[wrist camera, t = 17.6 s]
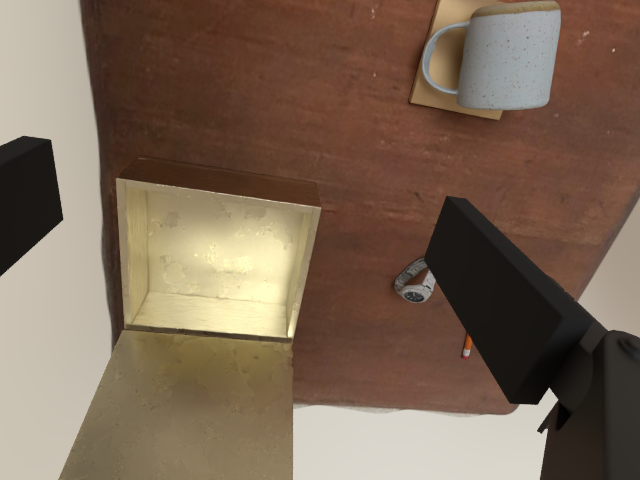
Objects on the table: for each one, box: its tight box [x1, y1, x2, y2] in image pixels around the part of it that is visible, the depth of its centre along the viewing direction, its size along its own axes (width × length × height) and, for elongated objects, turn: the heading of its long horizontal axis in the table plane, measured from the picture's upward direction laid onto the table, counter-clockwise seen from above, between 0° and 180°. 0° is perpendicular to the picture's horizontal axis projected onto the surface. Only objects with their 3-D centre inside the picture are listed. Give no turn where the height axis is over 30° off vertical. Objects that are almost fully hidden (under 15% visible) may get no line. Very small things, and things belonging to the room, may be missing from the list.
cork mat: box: [409, 0, 509, 120], centre depth 38 cm, size 10×10×1 cm
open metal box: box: [116, 156, 321, 343], centre depth 42 cm, size 18×19×7 cm
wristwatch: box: [394, 258, 436, 303], centre depth 48 cm, size 4×6×5 cm, turn 139°
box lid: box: [58, 330, 293, 480], centre depth 37 cm, size 19×19×5 cm
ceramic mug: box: [421, 1, 561, 110], centre depth 34 cm, size 11×8×8 cm
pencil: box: [462, 333, 472, 359], centre depth 54 cm, size 1×19×1 cm, turn 2°
